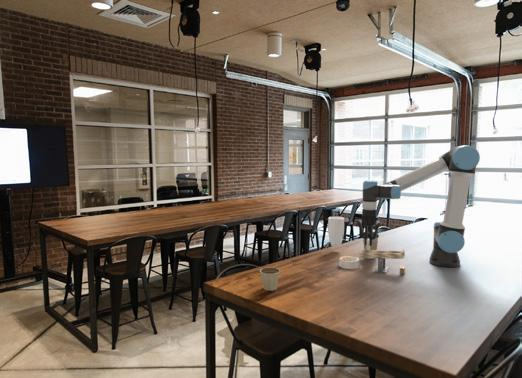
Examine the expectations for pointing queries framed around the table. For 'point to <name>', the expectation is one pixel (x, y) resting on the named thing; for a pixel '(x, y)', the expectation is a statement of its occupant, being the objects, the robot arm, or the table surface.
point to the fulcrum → (385, 267)
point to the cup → (336, 231)
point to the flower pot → (270, 278)
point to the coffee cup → (374, 243)
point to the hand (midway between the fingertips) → (368, 251)
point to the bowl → (349, 262)
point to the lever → (382, 254)
